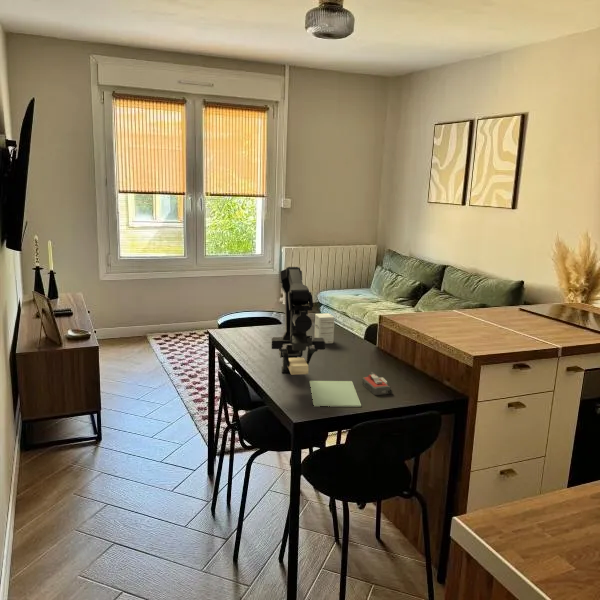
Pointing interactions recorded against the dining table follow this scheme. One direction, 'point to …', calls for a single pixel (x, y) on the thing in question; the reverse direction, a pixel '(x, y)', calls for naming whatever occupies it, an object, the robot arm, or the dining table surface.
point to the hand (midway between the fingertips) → (297, 366)
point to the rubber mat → (334, 394)
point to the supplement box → (324, 327)
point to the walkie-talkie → (376, 384)
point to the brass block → (298, 366)
